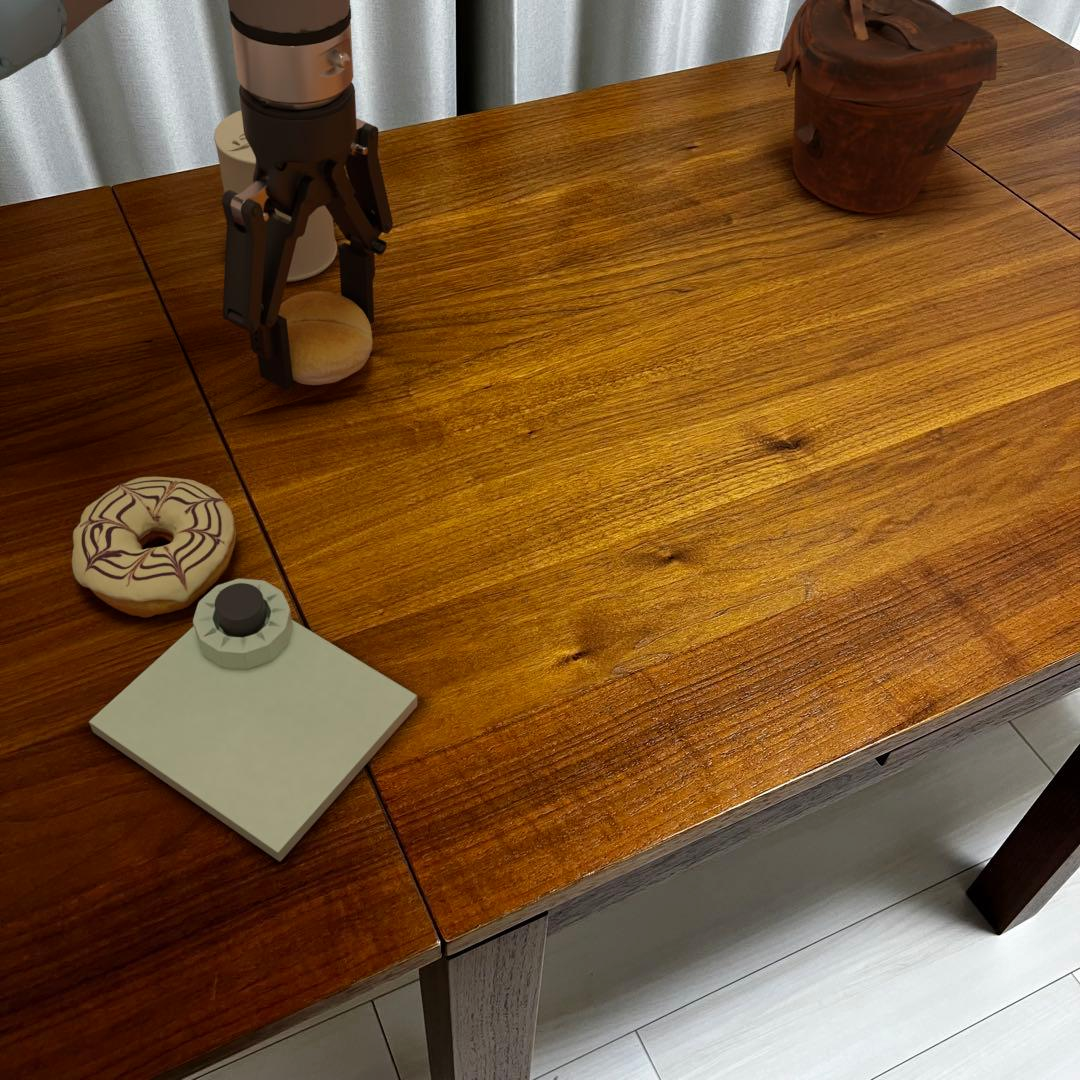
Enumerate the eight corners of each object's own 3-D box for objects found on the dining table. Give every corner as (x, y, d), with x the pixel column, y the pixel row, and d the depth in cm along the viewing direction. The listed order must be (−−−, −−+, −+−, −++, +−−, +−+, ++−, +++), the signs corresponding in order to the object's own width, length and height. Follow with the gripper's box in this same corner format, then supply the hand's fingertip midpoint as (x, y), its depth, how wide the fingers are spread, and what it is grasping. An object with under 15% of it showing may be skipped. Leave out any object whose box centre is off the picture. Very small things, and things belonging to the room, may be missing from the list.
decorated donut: (55, 612, 79) (40, 576, 76) (114, 495, 86) (102, 458, 83) (210, 633, 78) (201, 597, 75) (256, 514, 85) (249, 477, 83)
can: (211, 245, 106) (190, 121, 97) (298, 210, 111) (285, 87, 102) (270, 296, 102) (253, 171, 93) (358, 257, 106) (350, 134, 97)
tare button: (208, 622, 76) (204, 605, 74) (241, 592, 77) (237, 575, 76) (244, 644, 75) (240, 627, 73) (276, 613, 76) (273, 596, 75)
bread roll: (261, 389, 92) (255, 348, 89) (275, 315, 98) (270, 275, 95) (369, 392, 92) (367, 352, 89) (376, 318, 98) (374, 279, 95)
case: (785, 111, 128) (824, -62, 114) (969, 164, 123) (1033, -11, 109) (728, 191, 117) (765, 10, 104) (927, 253, 112) (993, 71, 99)
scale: (92, 732, 73) (81, 705, 71) (244, 593, 81) (238, 564, 78) (280, 862, 68) (274, 837, 66) (422, 701, 76) (421, 674, 74)
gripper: (222, 174, 70) (260, 445, 87) (442, 40, 83) (438, 299, 100) (130, 130, 73) (184, 402, 90) (357, 6, 85) (368, 265, 102)
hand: (318, 348), depth 95 cm, fingers closed on bread roll, 9 cm apart
